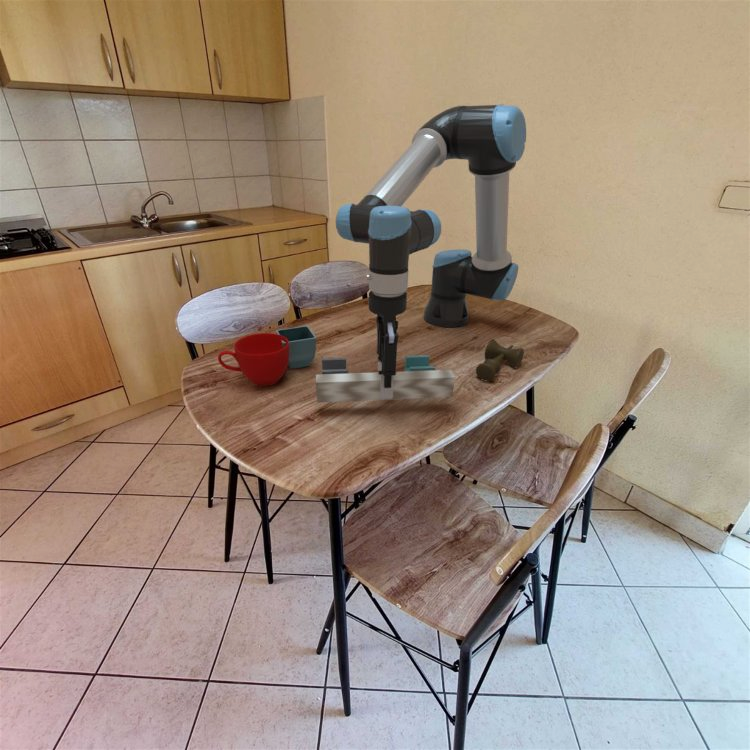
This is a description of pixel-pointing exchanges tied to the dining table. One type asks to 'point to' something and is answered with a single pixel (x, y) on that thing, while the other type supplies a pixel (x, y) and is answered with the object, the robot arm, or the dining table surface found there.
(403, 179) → the robot arm
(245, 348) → the ceramic cup
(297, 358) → the flower pot
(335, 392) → the grey white bar
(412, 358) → the long grey teal holder
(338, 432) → the dining table surface
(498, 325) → the dining table surface
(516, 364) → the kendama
